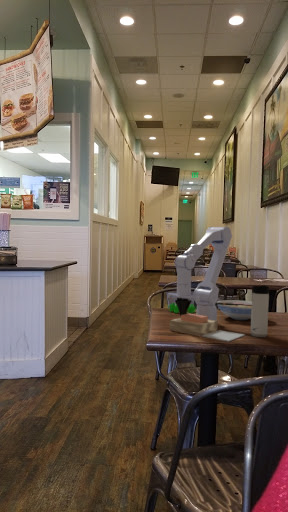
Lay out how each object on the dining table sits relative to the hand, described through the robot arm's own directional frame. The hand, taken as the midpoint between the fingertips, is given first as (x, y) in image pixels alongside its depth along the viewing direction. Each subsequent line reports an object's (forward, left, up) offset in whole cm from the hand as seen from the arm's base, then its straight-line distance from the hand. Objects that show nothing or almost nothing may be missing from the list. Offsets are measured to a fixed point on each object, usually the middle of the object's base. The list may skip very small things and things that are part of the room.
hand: (182, 316), depth 166 cm
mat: (0, +19, -5) cm, 19 cm away
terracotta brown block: (0, +5, -1) cm, 6 cm away
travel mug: (-11, +28, -5) cm, 31 cm away
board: (0, +5, -5) cm, 7 cm away
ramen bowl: (-39, +7, -5) cm, 40 cm away
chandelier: (-34, -23, -5) cm, 41 cm away
